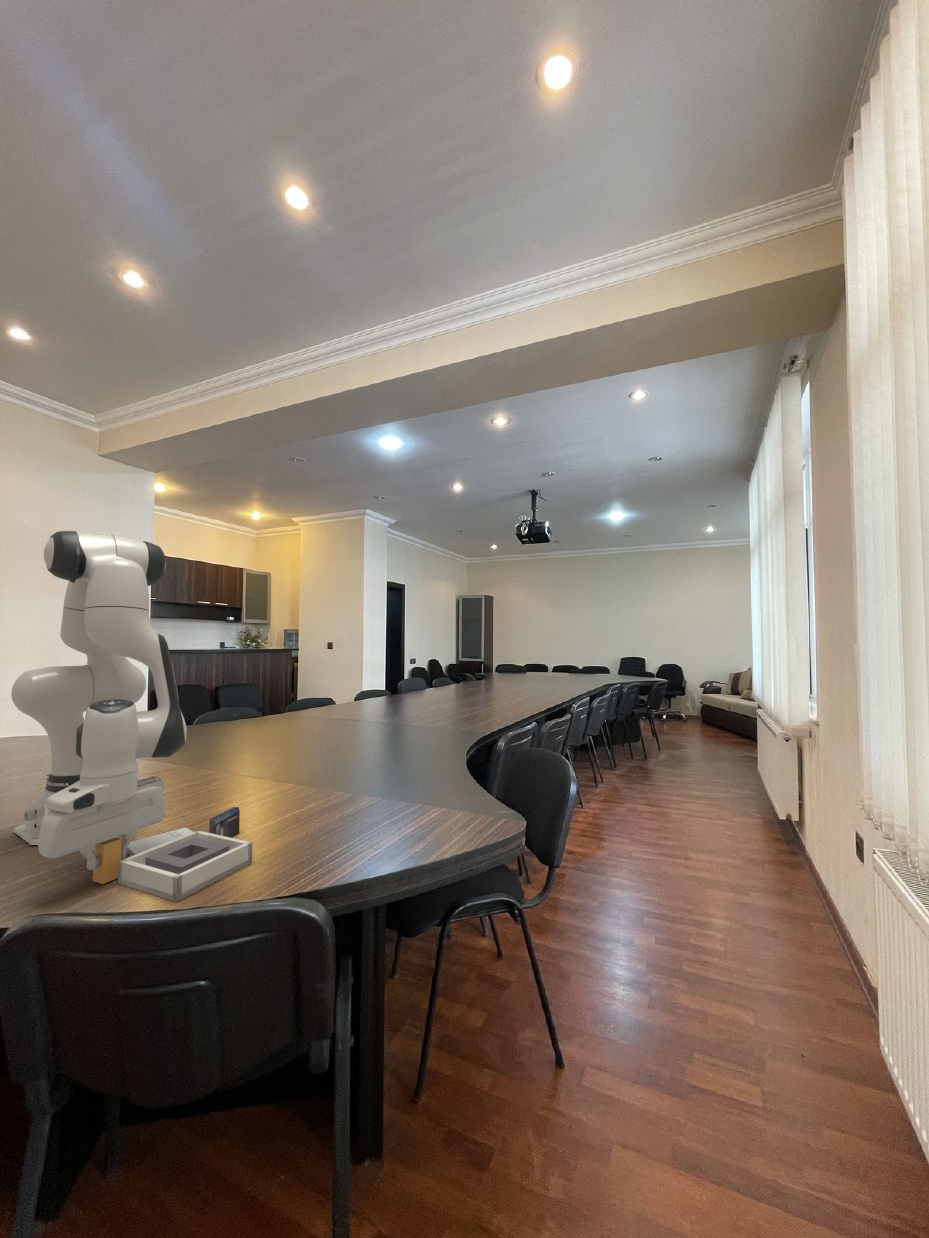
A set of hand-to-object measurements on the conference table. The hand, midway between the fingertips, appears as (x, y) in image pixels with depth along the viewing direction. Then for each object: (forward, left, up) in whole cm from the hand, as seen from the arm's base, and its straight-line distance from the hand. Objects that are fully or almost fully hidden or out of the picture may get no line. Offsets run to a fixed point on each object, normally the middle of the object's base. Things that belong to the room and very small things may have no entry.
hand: (106, 862), depth 90 cm
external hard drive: (-6, +15, -4) cm, 17 cm away
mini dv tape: (+4, +22, -4) cm, 23 cm away
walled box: (+11, +8, -3) cm, 14 cm away
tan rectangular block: (0, 0, -3) cm, 3 cm away
